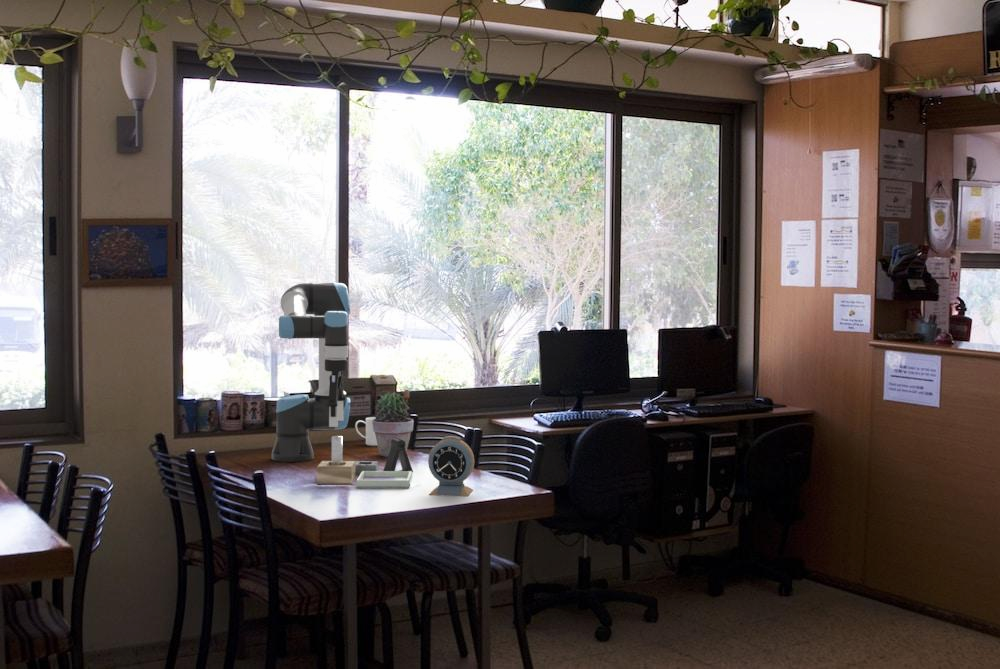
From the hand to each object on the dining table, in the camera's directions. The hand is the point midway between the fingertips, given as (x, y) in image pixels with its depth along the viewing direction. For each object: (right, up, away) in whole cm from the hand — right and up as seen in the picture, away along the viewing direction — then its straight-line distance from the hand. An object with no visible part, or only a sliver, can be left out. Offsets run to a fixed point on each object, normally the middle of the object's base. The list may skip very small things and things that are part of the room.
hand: (336, 423), depth 360 cm
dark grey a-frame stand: (+19, -19, +16) cm, 31 cm away
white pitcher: (+2, -15, +81) cm, 82 cm away
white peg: (0, -19, +1) cm, 19 cm away
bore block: (0, -19, +1) cm, 19 cm away
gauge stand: (+8, -19, +14) cm, 24 cm away
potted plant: (+12, -17, +56) cm, 59 cm away
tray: (+16, -19, -1) cm, 25 cm away
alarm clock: (+38, -21, -16) cm, 46 cm away
